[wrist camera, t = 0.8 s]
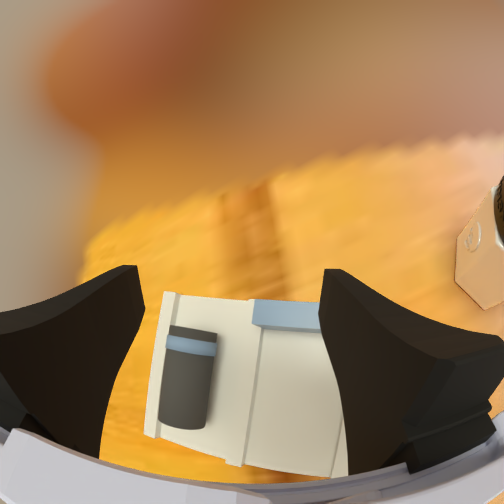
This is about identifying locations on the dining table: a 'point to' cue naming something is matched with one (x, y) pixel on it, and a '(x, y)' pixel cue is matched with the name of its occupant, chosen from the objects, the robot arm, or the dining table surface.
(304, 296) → the dining table surface
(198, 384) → the banded tin can
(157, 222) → the dining table surface
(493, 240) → the jar
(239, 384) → the cream cylinder cradle
